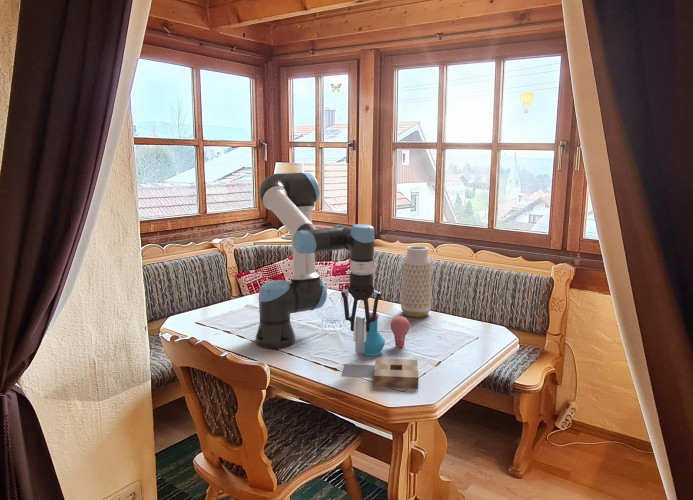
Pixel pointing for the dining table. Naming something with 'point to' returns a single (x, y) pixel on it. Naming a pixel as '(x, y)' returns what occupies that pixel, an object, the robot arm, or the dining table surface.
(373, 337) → the perfume bottle
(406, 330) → the light bulb
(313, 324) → the dining table surface
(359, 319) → the peg
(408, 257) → the vase
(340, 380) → the dining table surface
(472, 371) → the dining table surface
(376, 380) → the hole block
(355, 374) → the mat
